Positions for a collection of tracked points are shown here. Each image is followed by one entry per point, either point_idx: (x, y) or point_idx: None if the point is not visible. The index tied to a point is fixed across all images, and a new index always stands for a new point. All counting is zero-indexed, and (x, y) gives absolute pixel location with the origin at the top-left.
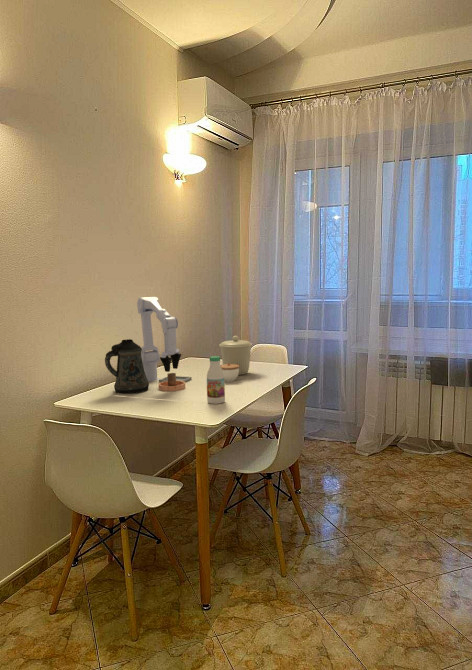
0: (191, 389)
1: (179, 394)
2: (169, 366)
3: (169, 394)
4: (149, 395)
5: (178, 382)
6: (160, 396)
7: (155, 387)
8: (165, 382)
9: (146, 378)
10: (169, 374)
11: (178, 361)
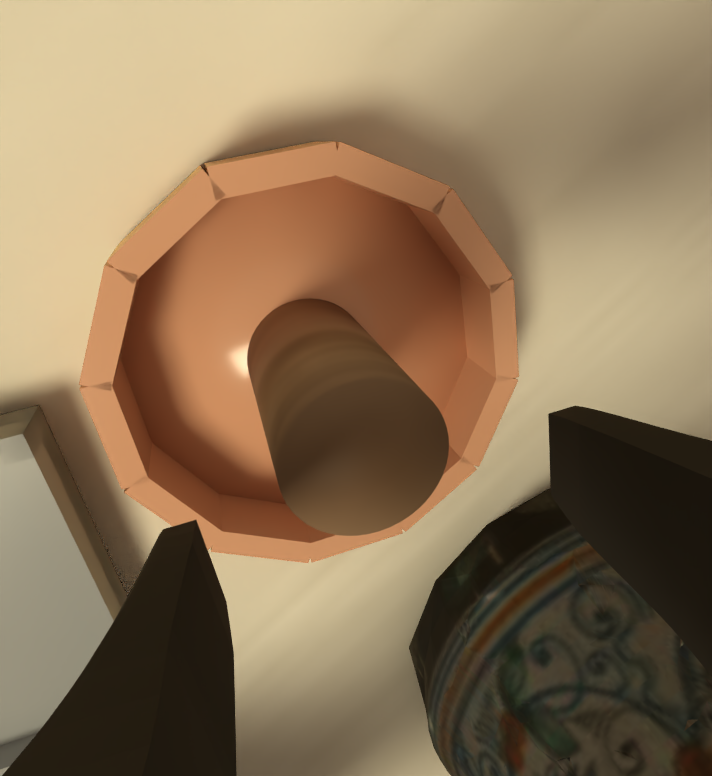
0: (153, 45)
1: (518, 15)
2: (691, 440)
3: (561, 164)
4: (661, 349)
5: (126, 408)
6: (674, 199)
7: (336, 574)
8: (277, 532)
9: (585, 629)
10: (445, 439)
11: (120, 668)
